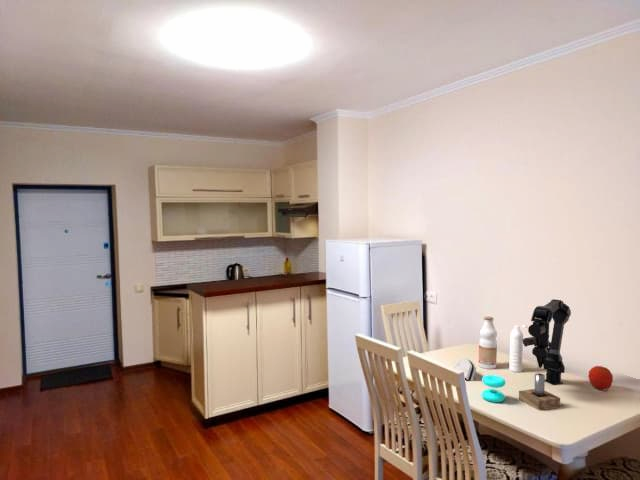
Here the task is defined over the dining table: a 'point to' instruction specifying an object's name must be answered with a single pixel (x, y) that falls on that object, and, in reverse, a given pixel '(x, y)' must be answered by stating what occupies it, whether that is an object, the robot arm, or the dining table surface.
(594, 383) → the apple
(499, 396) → the donuts
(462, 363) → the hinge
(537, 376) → the steel pin
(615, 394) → the dining table surface
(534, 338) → the robot arm
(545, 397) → the block
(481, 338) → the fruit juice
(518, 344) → the water bottle
